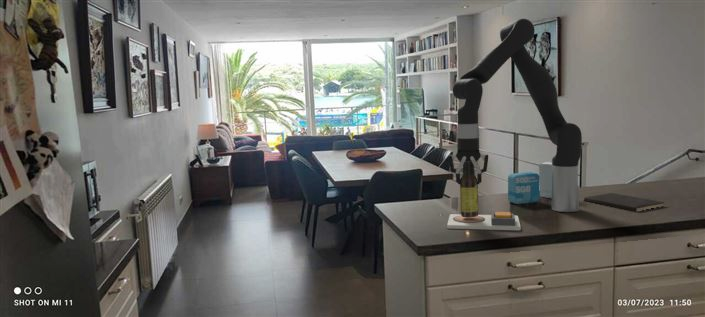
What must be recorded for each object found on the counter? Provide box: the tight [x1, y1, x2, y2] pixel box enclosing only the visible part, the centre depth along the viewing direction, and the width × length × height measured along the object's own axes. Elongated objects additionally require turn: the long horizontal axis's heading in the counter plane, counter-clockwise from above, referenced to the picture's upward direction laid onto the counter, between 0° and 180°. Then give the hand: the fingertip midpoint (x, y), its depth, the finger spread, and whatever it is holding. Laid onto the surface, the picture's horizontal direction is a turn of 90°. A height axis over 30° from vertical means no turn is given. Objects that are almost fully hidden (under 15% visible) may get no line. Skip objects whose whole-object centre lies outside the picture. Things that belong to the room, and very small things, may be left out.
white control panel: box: [446, 212, 522, 231], centre depth 181 cm, size 24×16×4 cm, turn 76°
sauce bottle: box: [459, 161, 479, 217], centre depth 182 cm, size 6×6×20 cm
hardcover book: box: [583, 192, 665, 213], centre depth 203 cm, size 16×23×2 cm
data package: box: [507, 171, 540, 205], centre depth 212 cm, size 12×4×12 cm, turn 106°
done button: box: [494, 211, 512, 218], centre depth 176 cm, size 5×5×2 cm
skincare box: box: [538, 161, 552, 199], centre depth 220 cm, size 8×6×15 cm
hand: (468, 183), depth 182 cm, fingers closed on sauce bottle, 6 cm apart
